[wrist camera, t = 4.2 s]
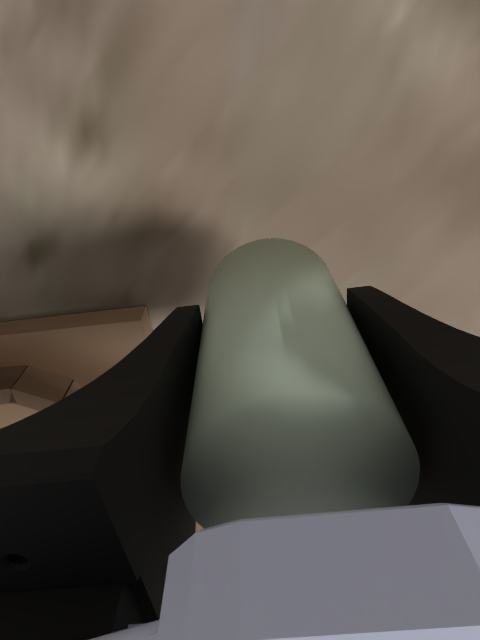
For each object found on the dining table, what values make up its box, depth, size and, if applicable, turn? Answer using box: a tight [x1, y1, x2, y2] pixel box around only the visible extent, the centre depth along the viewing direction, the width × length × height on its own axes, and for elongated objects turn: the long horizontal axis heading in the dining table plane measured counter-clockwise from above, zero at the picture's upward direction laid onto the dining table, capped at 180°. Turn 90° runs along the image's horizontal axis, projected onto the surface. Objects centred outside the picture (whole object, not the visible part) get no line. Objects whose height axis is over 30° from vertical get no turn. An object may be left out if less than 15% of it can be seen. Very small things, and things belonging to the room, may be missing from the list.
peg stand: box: [0, 306, 204, 533], centre depth 19 cm, size 19×12×8 cm, turn 7°
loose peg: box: [181, 238, 420, 529], centre depth 10 cm, size 4×4×7 cm
